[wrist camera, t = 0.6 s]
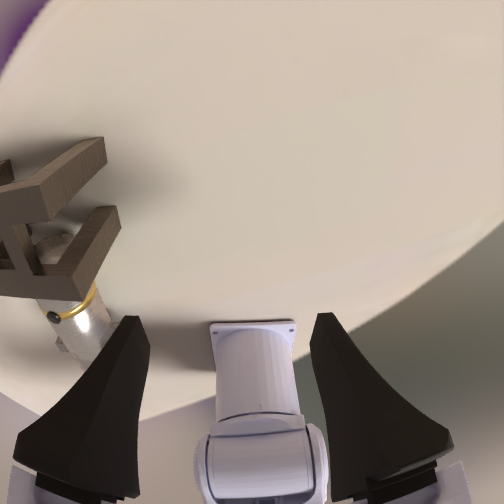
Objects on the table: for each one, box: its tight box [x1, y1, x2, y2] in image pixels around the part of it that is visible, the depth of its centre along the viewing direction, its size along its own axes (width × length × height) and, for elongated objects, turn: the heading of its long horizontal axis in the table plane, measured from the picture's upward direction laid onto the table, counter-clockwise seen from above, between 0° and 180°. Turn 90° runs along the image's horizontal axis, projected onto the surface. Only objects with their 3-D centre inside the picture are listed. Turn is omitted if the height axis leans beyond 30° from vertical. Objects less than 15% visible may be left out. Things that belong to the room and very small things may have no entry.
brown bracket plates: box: [0, 137, 121, 302], centre depth 14 cm, size 7×11×7 cm, turn 89°
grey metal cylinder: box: [34, 234, 119, 372], centre depth 21 cm, size 15×6×5 cm, turn 179°
